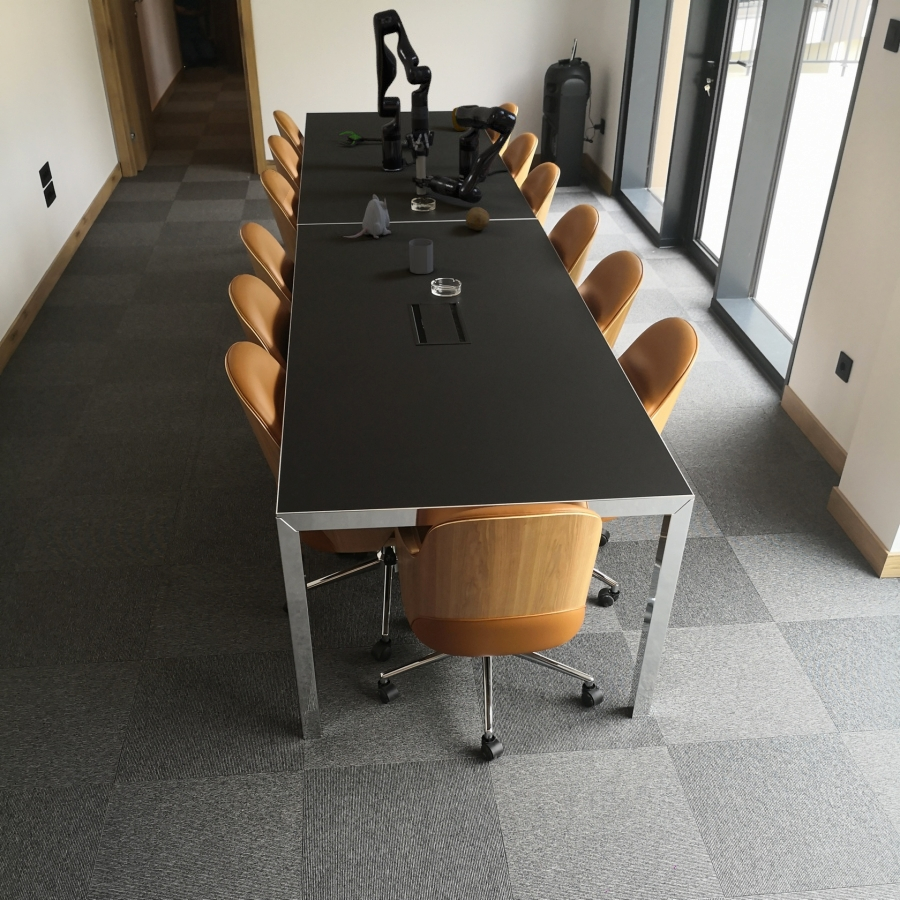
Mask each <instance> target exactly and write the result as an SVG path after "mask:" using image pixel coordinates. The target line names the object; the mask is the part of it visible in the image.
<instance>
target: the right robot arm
mask: <svg viewBox="0 0 900 900" xmlns="http://www.w3.org/2000/svg"><path fill="white" fill-rule="evenodd" d="M457 107H458V108H457ZM457 107H456V108H457V110H456V113H455V119H456V122H457V124H458V125H459V126H460V127H468V128H469V129H468V130H467V131H466V132H464V133H462V134H460V135H459V137H458V180H455V179H453V178H450V177H446V176H444V175H439V174H436V175H435V174H430V175H426V178H422V179H421V178H417V177H416V176H412V177H411V178H412V179H411V180H412V181H411V182H412V183H415V187H416V188H417V187H419V188H423V186H424V187H426V189H427V188H428V189H430V190H431V192H432V193H433V194H437V195H441V196H445V197H449V198H453V199H459V200H460V201H462V202H467V203H470V204H477V203H479V202H480V201H482V198H483V192H482V190H481V188H479V186H478V184H481V183H484V182H486V180H487V178H488V176H492V175H493V174H496V173H505V172H508V168H506V169H496V170H492V171H491V168H492V167H493V164H494V163H495V161H496V159H497V157H498V156H499V154H500V153H501V151H502V149H503V148H504V147H505V144H506V143H507V141H508V140H509V138H510V136H511V135H512V133H513V130H514V129H515V127H516V123H517V116H516V114H515V113H513V112H512V111H510V110H507V109H506V108H503V107H501V106H491V107H488V106H480V105H478V104H467V105H459V106H457ZM486 130H491V131H494V132H496V133H498V134H499V136H498V137H497V138H496V140H495V141H494V142H493V144H491V145H490V146H488V148H486V149H485V150H483V151H482V152H481V153H480V137H481V131H486ZM490 171H491V172H490ZM420 180H421V181H422V182H421V181H420ZM424 180H425V181H424Z"/></svg>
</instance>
